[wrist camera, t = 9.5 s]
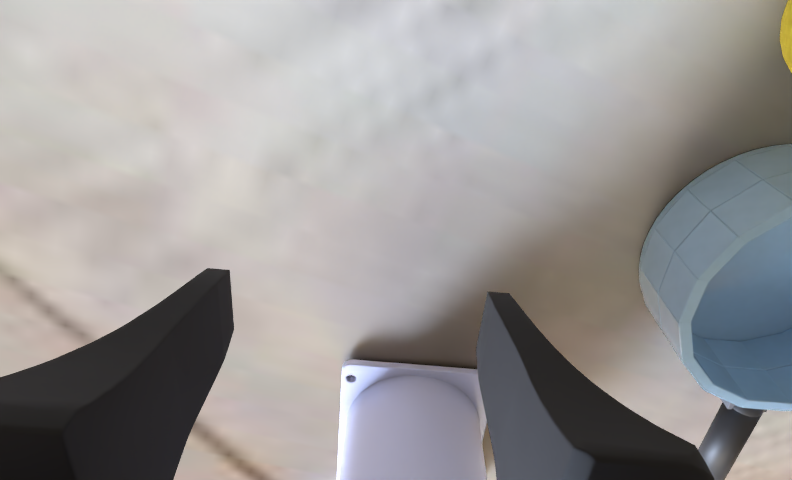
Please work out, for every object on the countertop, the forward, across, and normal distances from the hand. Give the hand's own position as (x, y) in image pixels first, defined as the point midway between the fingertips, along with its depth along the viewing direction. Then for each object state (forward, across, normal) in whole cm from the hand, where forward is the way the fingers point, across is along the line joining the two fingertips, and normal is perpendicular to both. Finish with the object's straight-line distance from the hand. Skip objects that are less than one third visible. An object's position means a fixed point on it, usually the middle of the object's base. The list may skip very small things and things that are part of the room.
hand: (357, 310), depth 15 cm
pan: (+9, -18, +2) cm, 20 cm away
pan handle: (+7, -18, +10) cm, 22 cm away
